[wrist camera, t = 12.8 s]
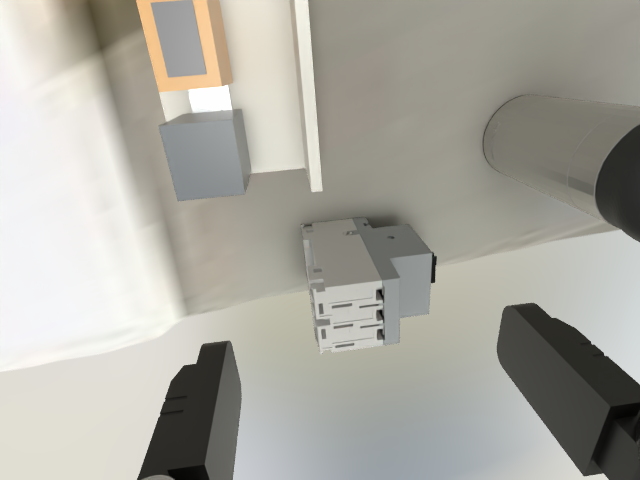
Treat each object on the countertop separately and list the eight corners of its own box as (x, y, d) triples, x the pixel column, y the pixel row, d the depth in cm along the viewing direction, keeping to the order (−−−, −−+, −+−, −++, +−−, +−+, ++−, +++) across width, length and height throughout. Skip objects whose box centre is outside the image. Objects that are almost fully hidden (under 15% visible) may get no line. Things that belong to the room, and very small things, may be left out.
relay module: (219, 0, 34) (202, -18, 26) (233, 82, 37) (221, 86, 29) (164, 4, 33) (132, -13, 26) (182, 87, 37) (158, 92, 29)
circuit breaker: (410, 262, 50) (460, 334, 36) (306, 275, 49) (317, 354, 36) (412, 211, 47) (466, 269, 33) (300, 224, 46) (310, 289, 32)
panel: (285, -165, 31) (287, -261, 22) (313, 165, 43) (322, 191, 34) (101, -156, 30) (24, -254, 21) (182, 178, 42) (156, 208, 33)
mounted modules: (203, -130, 30) (178, -198, 22) (251, 170, 41) (245, 194, 33) (126, -126, 30) (73, -194, 22) (195, 176, 40) (176, 201, 33)
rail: (187, -159, 30) (185, -163, 29) (242, 169, 41) (242, 171, 41) (136, -157, 29) (134, -161, 29) (207, 173, 41) (206, 174, 40)
